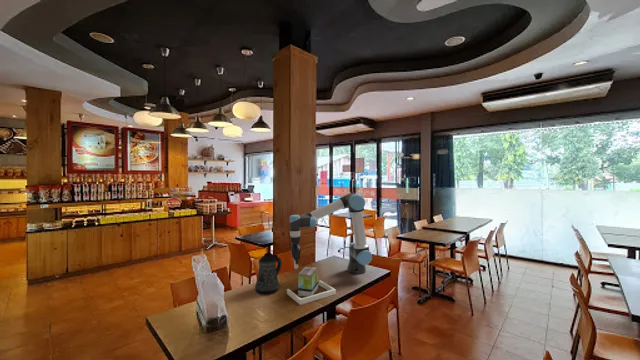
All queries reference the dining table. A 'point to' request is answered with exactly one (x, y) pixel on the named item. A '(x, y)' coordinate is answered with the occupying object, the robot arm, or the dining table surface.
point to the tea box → (308, 281)
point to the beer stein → (268, 274)
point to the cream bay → (314, 297)
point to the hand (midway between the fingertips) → (296, 268)
